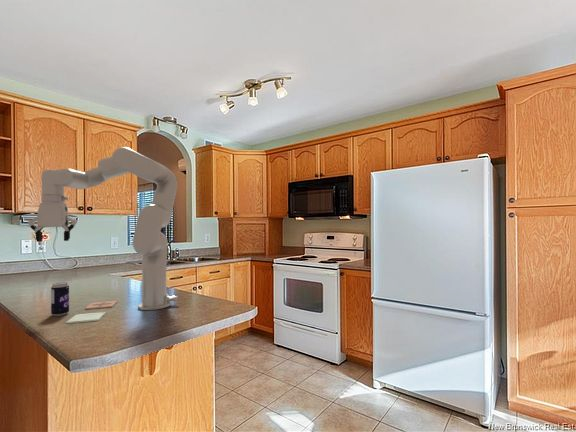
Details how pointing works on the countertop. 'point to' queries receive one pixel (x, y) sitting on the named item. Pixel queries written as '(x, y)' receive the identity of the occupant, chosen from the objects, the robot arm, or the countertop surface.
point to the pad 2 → (101, 305)
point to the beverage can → (59, 299)
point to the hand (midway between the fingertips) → (53, 241)
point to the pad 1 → (86, 317)
